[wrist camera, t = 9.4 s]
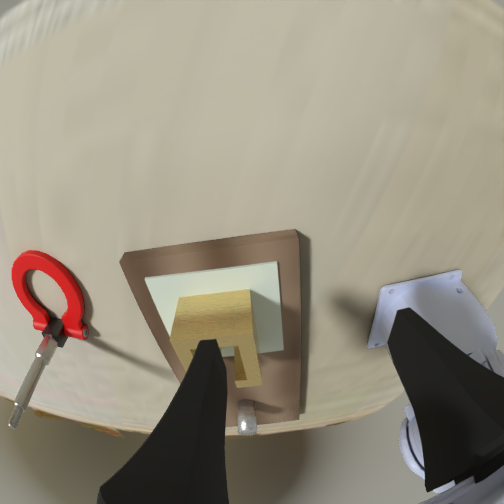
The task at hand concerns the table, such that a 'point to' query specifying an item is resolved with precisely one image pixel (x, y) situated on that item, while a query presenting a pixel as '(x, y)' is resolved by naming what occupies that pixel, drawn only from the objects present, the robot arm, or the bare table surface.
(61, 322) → the tow hook
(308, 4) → the table surface
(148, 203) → the table surface
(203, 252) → the stand board
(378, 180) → the table surface
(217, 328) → the wooden box
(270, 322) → the sage pad
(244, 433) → the steel post
